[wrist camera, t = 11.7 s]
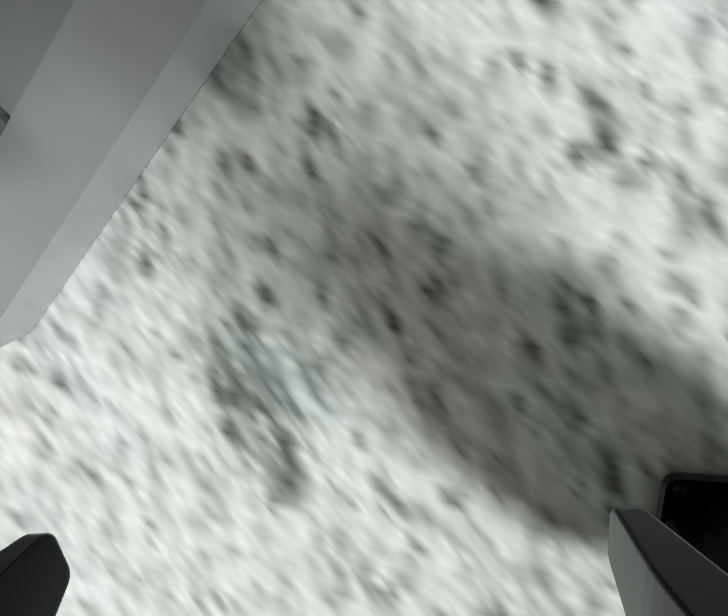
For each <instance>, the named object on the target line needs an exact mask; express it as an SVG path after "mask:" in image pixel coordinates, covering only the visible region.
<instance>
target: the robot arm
mask: <svg viewBox="0 0 728 616" xmlns="http://www.w3.org/2000/svg"><path fill="white" fill-rule="evenodd" d="M677 485H683V486H682V488H680V489H678V490H674V489H673V488H674V487H675V486H677ZM608 555H609V560H610V565H611V568H612V571H613V575H614V578H615V581H616V584H617V588H618V591H619V594H620V598H621V601H622V604H623V607H624V611H625V614H626V616H728V476H718V475H702V474H686V473H672V474H670V475H667V476H666V477H665V478H664V479H663V481H662V485H661V491H660V498H659V505H658V511H657V518H656V517H654V516H653V515H652V514H651V513H649V512H648V511H647V510H645V509H644V508H642V507H639V506H626V507H615V508H613V509H612V510H611V513H610V523H609V538H608ZM69 578H70V569H69V566H68V563H67V561H66V559H65V557H64V555H63V552H62V550H61V548H60V546H59V544H58V542H57V539H56V538H55V537H54V536H53V535H52V534H49V533H38V534H28V535H25V536H23V537H21V538H19V539H18V540H16V541H15V542H13V543H12V544H10V545H9V546H7V547H6V548H4V549H3V550H1V551H0V616H56V613H57V611H58V608H59V606H60V603H61V601H62V598H63V596H64V593H65V591H66V588H67V586H68V583H69Z"/></svg>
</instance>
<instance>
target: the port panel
mask: <svg viewBox="0 0 728 616" xmlns="http://www.w3.org/2000/svg"><path fill="white" fill-rule="evenodd" d="M260 1H261V0H0V107H1V108H2V109H3V110H4V111H6V112H7V113H8V114H9V115H10V116H11V117H10V119H9V121H8V123H7V125H6V126H5V128H4V130H3V132H2V134H1V135H0V347H2V346H4V345H6V344H8V343H10V342H12V341H15V340H17V339H19V338H21V337H23V336H25V335H27V334H29V333H31V332H32V330H33V329H34V327H35V326H36V325H37V323H38V322H39V320H40V319H41V317H42V316H43V314H44V313H45V312H46V310H47V309H48V307H49V306H50V304H51V303H52V301H53V300H54V299H55V297H56V296H57V294H58V293H59V291H60V290H61V288H62V287H63V286H64V284H65V283H66V281H67V280H68V278H69V277H70V275H71V274H72V273H73V271H74V270H75V268H76V267H77V265H78V264H79V262H80V261H81V260H82V258H83V257H84V255H85V254H86V252H87V251H88V249H89V248H90V247H91V245H92V244H93V242H94V241H95V239H96V238H97V236H98V235H99V234H100V232H101V231H102V229H103V228H104V226H105V225H106V223H107V222H108V221H109V219H110V218H111V216H112V215H113V213H114V212H115V210H116V209H117V208H118V206H119V205H120V203H121V202H122V200H123V199H124V197H125V196H126V195H127V193H128V192H129V190H130V189H131V187H132V186H133V185H134V183H135V182H136V180H137V179H138V177H139V176H140V174H141V173H142V172H143V170H144V169H145V167H146V166H147V164H148V163H149V161H150V160H151V159H152V157H153V156H154V154H155V153H156V151H157V150H158V148H159V147H160V146H161V144H162V143H163V141H164V140H165V138H166V137H167V135H168V134H169V133H170V131H171V130H172V128H173V127H174V125H175V124H176V122H177V121H178V120H179V118H180V117H181V115H182V114H183V112H184V111H185V109H186V108H187V107H188V105H189V104H190V102H191V101H192V99H193V98H194V96H195V95H196V94H197V92H198V91H199V89H200V88H201V86H202V85H203V83H204V82H205V81H206V79H207V78H208V76H209V75H210V73H211V72H212V70H213V69H214V68H215V66H216V65H217V63H218V62H219V60H220V59H221V57H222V56H223V55H224V53H225V52H226V50H227V49H228V47H229V46H230V44H231V43H232V42H233V40H234V39H235V37H236V36H237V34H238V33H239V31H240V30H241V29H242V27H243V26H244V24H245V23H246V21H247V20H248V19H249V17H250V16H251V14H252V13H253V11H254V10H255V8H256V7H257V6H258V4H259V3H260Z"/></svg>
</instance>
